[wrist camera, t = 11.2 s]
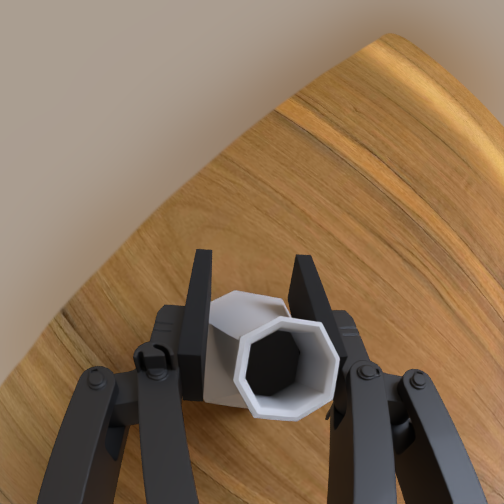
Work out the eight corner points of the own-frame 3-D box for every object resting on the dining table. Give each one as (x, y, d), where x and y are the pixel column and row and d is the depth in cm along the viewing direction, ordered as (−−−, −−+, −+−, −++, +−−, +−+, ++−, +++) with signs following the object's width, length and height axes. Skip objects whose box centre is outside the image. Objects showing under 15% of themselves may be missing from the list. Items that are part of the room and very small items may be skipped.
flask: (292, 282, 19) (374, 234, 10) (310, 395, 18) (403, 441, 8) (173, 298, 18) (143, 261, 9) (193, 417, 17) (186, 498, 7)
